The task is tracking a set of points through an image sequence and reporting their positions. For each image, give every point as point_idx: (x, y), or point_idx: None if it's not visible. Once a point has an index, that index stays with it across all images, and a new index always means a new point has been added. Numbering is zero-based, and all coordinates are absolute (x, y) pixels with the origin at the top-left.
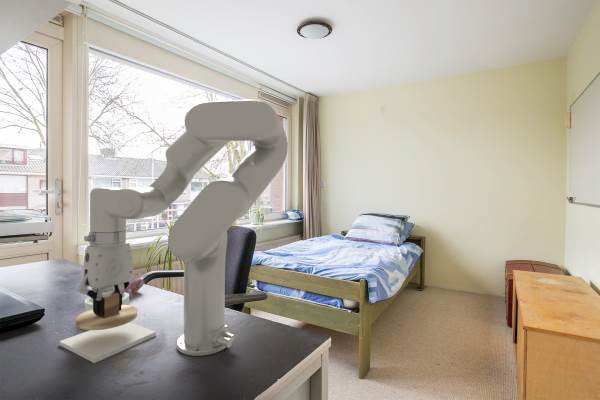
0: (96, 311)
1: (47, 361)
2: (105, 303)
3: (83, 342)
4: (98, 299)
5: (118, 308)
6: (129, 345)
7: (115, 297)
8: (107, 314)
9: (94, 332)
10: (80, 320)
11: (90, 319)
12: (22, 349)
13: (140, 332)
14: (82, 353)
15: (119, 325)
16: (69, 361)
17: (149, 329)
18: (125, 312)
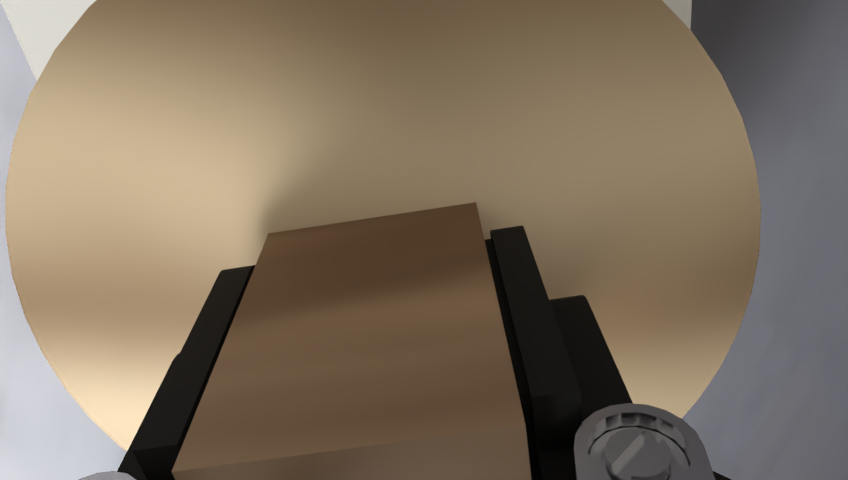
0: (588, 306)
1: (845, 144)
2: (488, 338)
3: None
4: (634, 439)
5: (261, 275)
6: None
7: (275, 410)
8: (437, 229)
9: None
10: (689, 337)
11: (608, 287)
12: (809, 428)
13: None
14: (689, 2)
15: None
16: (770, 6)
17: (9, 19)
18: (183, 213)
